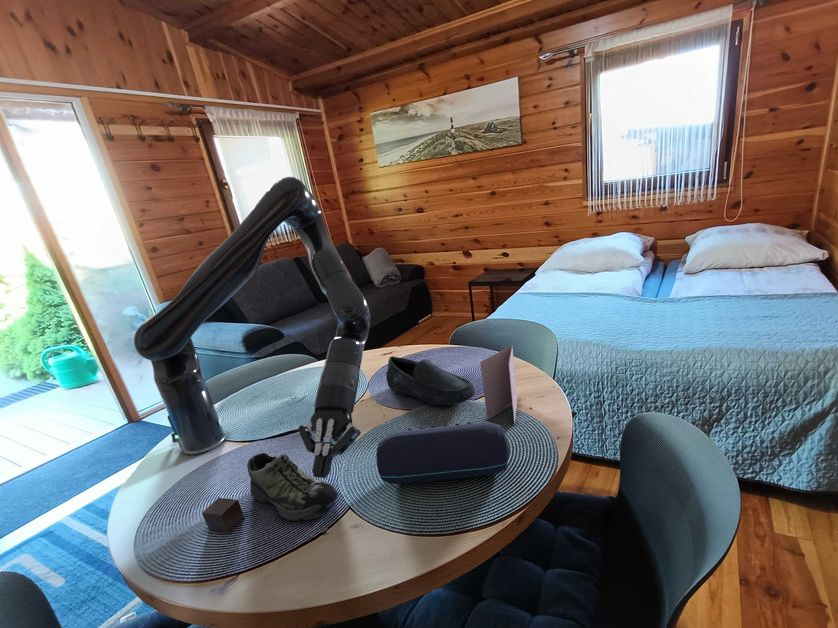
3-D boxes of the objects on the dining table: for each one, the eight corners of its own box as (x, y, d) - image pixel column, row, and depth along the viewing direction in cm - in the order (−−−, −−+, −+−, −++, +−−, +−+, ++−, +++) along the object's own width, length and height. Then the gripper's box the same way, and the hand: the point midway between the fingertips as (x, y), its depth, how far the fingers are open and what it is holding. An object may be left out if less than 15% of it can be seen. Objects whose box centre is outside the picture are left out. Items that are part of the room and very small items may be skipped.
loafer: (464, 414, 106) (459, 376, 102) (377, 396, 121) (369, 362, 117) (484, 395, 114) (480, 359, 110) (400, 380, 129) (394, 349, 125)
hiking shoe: (316, 531, 74) (302, 487, 71) (236, 503, 84) (221, 463, 81) (349, 499, 81) (338, 458, 78) (272, 476, 91) (259, 438, 88)
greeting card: (514, 399, 110) (509, 344, 104) (538, 406, 105) (534, 349, 99) (484, 419, 102) (477, 361, 97) (508, 428, 97) (502, 367, 92)
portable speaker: (508, 452, 89) (503, 410, 85) (513, 484, 80) (508, 438, 76) (388, 465, 90) (379, 423, 86) (379, 497, 81) (368, 452, 77)
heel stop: (208, 530, 78) (201, 512, 77) (225, 514, 82) (218, 497, 80) (228, 532, 77) (221, 515, 75) (244, 516, 80) (237, 499, 79)
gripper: (376, 394, 88) (361, 482, 82) (320, 393, 92) (301, 477, 86) (358, 382, 82) (340, 477, 75) (298, 382, 85) (276, 472, 79)
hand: (319, 477), depth 80 cm, fingers closed
